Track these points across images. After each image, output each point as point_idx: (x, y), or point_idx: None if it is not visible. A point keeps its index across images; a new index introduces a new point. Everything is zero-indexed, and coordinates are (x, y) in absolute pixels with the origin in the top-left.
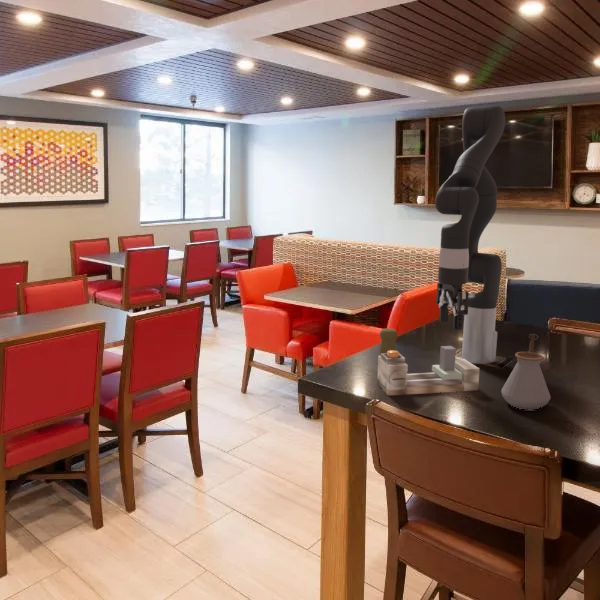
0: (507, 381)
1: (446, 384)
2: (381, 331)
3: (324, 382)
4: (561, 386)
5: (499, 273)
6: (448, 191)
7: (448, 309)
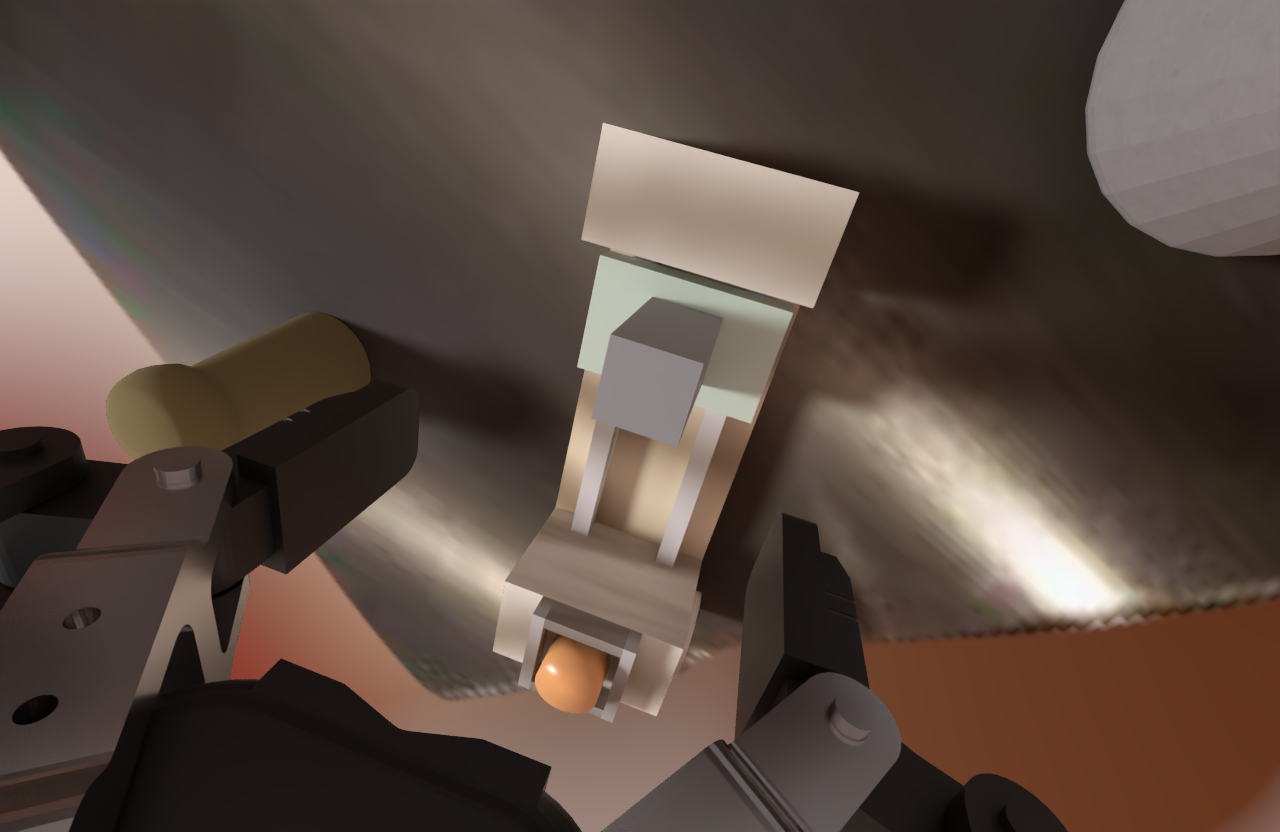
0: (1234, 199)
1: None
2: None
3: (480, 673)
4: None
5: None
6: None
7: (289, 461)
